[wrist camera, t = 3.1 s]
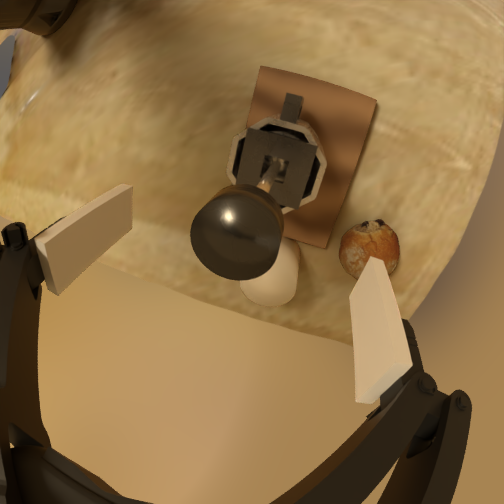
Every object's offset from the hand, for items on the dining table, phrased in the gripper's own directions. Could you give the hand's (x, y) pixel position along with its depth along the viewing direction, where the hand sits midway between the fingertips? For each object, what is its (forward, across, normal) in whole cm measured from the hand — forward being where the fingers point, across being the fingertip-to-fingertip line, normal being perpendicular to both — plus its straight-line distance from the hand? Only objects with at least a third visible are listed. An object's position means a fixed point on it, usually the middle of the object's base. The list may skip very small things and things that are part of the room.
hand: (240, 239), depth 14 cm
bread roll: (+28, +17, -10) cm, 34 cm away
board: (+27, +2, -1) cm, 27 cm away
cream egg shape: (+27, +3, -17) cm, 32 cm away
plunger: (+17, 0, 0) cm, 17 cm away
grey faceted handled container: (+26, 0, +2) cm, 26 cm away
